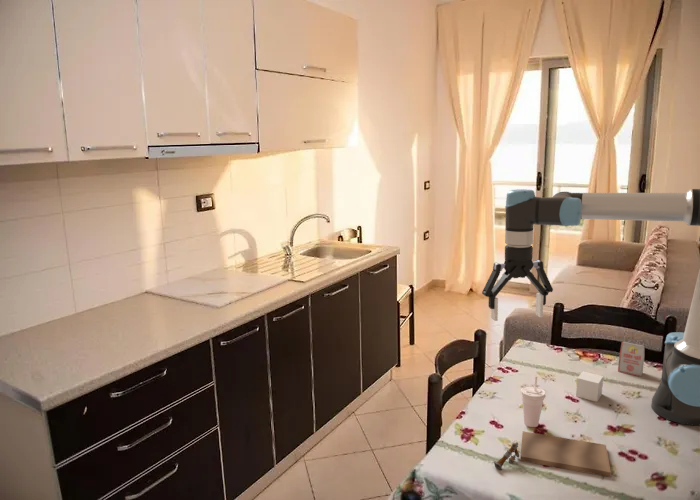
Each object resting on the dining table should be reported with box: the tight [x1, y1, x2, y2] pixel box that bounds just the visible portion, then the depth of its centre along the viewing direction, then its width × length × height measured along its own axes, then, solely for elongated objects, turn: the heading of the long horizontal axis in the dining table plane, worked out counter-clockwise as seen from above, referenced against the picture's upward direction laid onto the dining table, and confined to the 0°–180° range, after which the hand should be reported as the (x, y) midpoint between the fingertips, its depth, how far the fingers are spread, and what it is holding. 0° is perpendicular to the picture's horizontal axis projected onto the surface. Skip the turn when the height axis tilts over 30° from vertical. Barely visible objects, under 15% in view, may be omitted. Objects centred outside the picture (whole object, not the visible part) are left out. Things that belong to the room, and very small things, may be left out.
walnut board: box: [519, 431, 612, 478], centre depth 134 cm, size 20×12×1 cm, turn 70°
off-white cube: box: [575, 371, 604, 403], centre depth 164 cm, size 6×6×6 cm
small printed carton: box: [617, 341, 646, 377], centre depth 179 cm, size 4×7×10 cm, turn 51°
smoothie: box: [520, 375, 546, 428], centre depth 148 cm, size 6×6×14 cm
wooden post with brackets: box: [493, 442, 520, 471], centre depth 131 cm, size 2×8×4 cm, turn 126°
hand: (516, 317), depth 156 cm, fingers open, 13 cm apart
